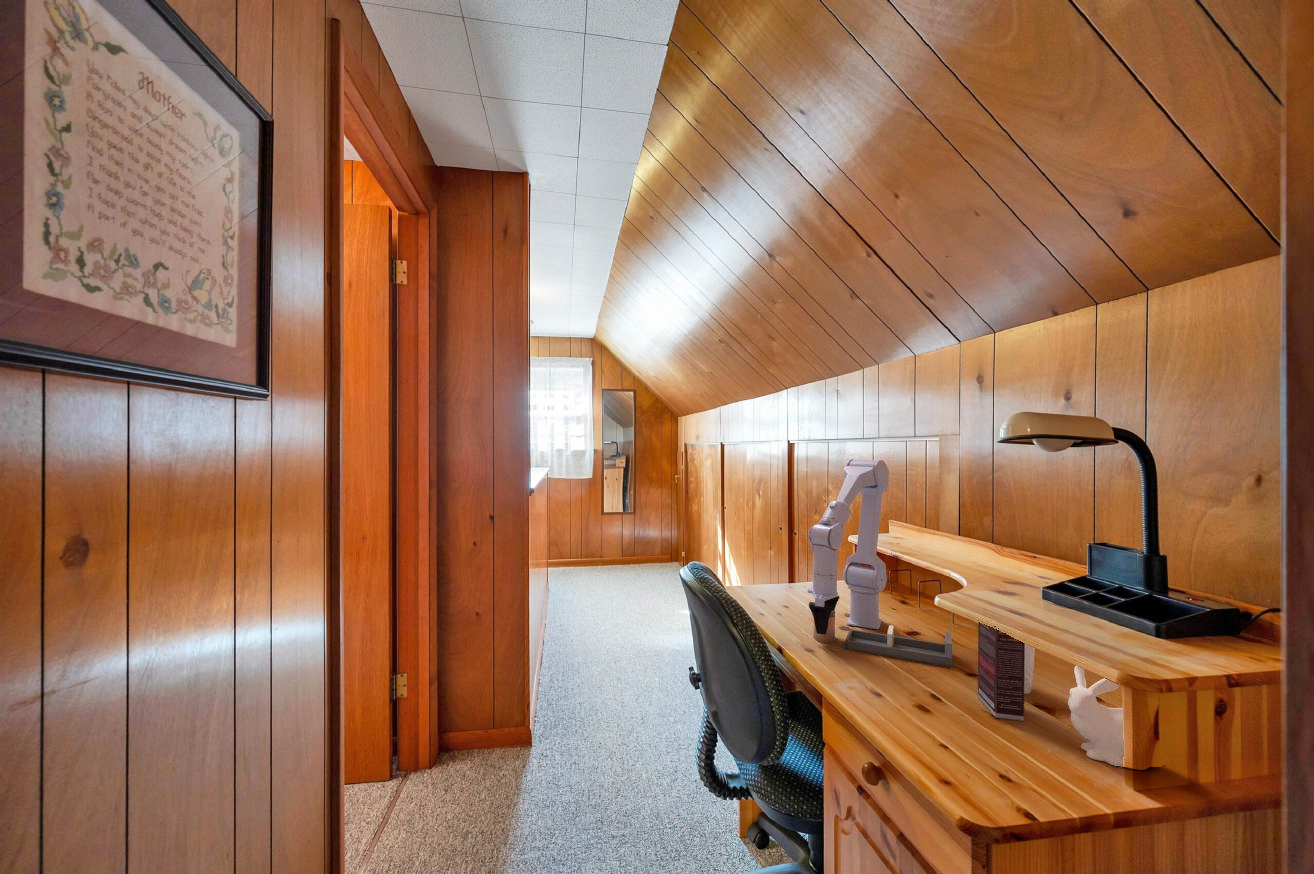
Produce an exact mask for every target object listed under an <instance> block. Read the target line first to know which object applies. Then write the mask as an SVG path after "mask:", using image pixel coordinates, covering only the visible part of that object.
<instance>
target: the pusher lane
mask: <svg viewBox="0 0 1314 874" xmlns="http://www.w3.org/2000/svg"><path fill="white" fill-rule="evenodd" d="M844 649H845V650H848V651H855V652H859V653H860V652H861V653H867V654H871V653H872V655H878V656H883V657H890V658H895V659H900V660H906V661H911V662H917V661H918V662H919V663H924V664H930V665H936V666H940V667H941V666H942V667H947V668H953V639H952V632H951V631H948V630H944V643H940V642H935V641H934V642H933V641H928V640H927V641H926V640H920V639H915V638H909V637H902V636H895V635H894V644H893V647H887V634H882V633H877V632H871V631H864V630H859V629H858V630H857V629H852V628H851V629H849V631H848V633H847V635H846V637H845V640H844Z"/></svg>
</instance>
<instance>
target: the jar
mask: <svg viewBox="0 0 1314 874" xmlns="http://www.w3.org/2000/svg"><path fill="white" fill-rule="evenodd" d="M812 639H813V640H814V641H817V642H820V643H825V644H826V643H827V644H828V643H829V644H830V643H834V642H836V641H835V639H836V610H832V612H831V614H830V617H829V622H828V628H827V632H826V635H824V634H818V633H817V632H816V627H815V622H814V621H813V637H812Z"/></svg>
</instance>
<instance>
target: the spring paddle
mask: <svg viewBox="0 0 1314 874" xmlns="http://www.w3.org/2000/svg"><path fill="white" fill-rule="evenodd" d="M894 634H895V627H894V625H891V624H889V625H888V629H887V634H886V635H887V647H893V644H894V636H895V635H894Z"/></svg>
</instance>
